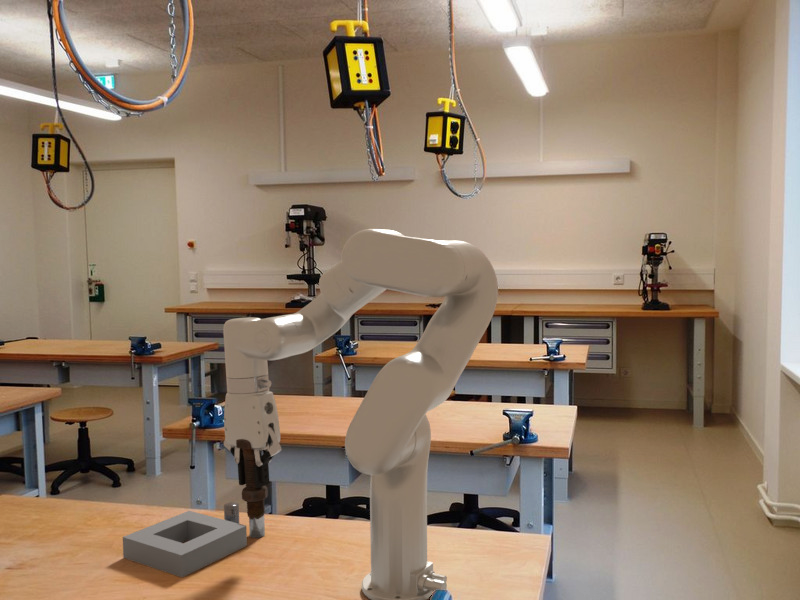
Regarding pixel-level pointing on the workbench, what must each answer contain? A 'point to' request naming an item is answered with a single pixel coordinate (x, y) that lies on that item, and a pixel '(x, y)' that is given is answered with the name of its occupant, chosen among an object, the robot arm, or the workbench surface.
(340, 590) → the workbench surface
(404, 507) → the robot arm
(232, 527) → the frame
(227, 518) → the pin short
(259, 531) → the pin mid
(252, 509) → the bolt
